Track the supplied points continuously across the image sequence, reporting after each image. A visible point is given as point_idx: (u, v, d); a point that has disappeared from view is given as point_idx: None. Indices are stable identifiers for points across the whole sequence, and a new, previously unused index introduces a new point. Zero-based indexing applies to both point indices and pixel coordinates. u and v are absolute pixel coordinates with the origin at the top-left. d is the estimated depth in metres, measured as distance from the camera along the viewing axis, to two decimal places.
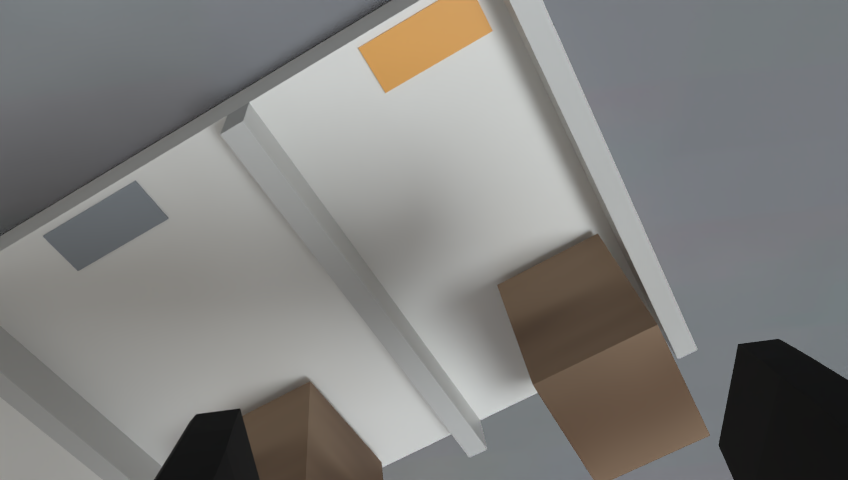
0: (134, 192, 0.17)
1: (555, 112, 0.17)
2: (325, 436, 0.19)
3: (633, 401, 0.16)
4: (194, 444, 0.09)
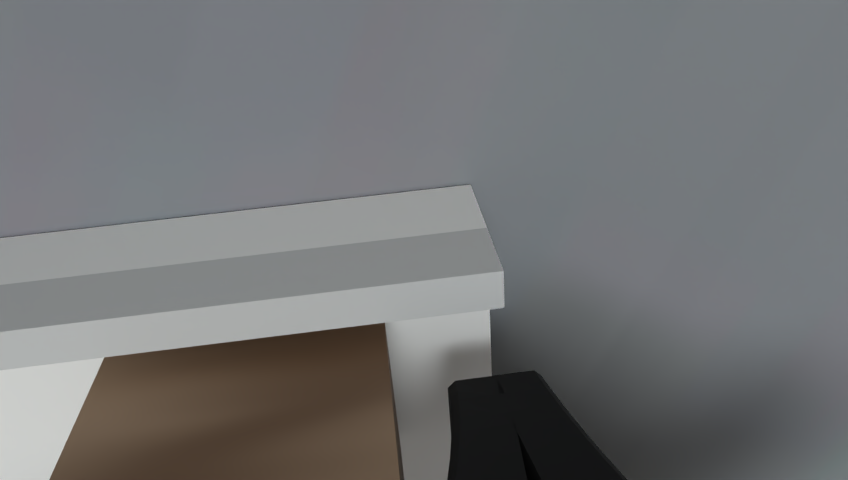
0: None
1: None
2: None
3: None
4: (476, 407, 0.09)
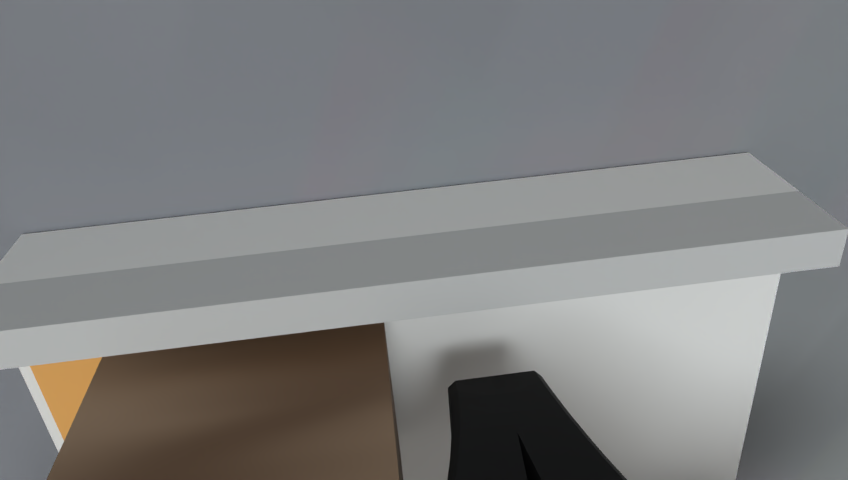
0: None
1: None
2: None
3: None
4: (476, 407, 0.09)
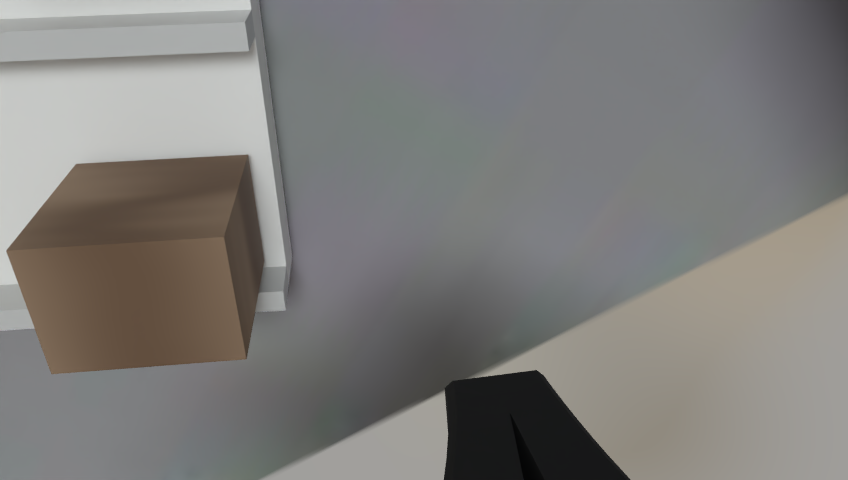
0: None
1: None
2: None
3: None
4: (473, 408, 0.09)
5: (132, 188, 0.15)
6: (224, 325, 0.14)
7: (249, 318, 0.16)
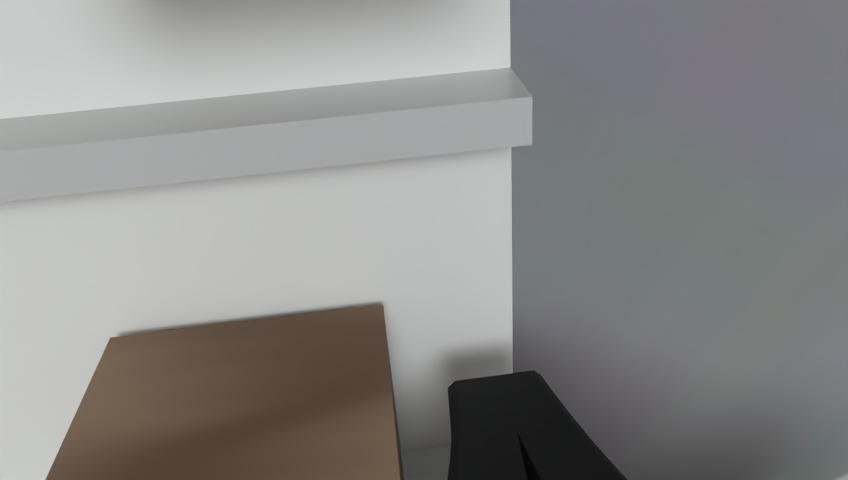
0: None
1: None
2: None
3: None
4: (476, 407, 0.09)
5: (210, 396, 0.09)
6: None
7: None
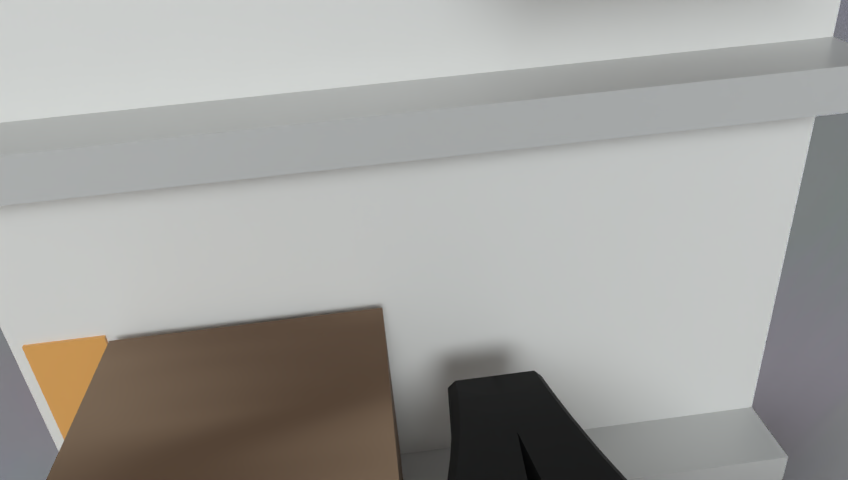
0: None
1: None
2: None
3: None
4: (476, 407, 0.09)
5: (209, 400, 0.09)
6: None
7: None
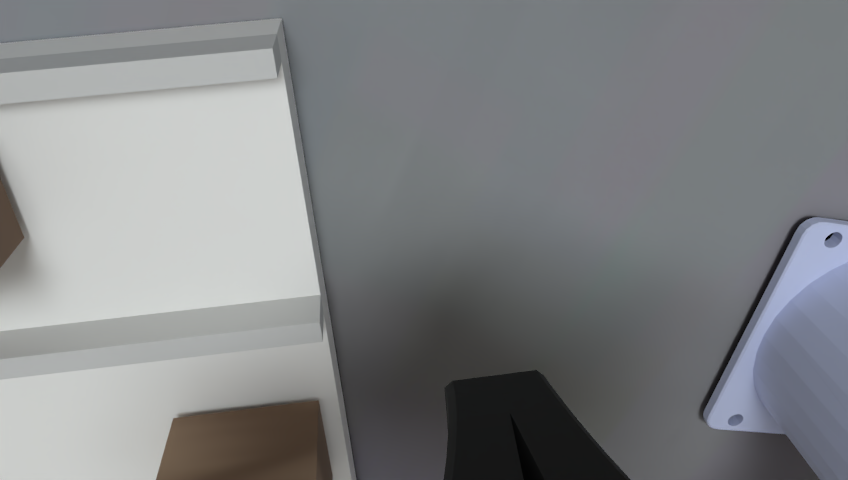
0: None
1: None
2: (194, 454, 0.18)
3: None
4: (473, 407, 0.09)
5: None
6: None
7: None
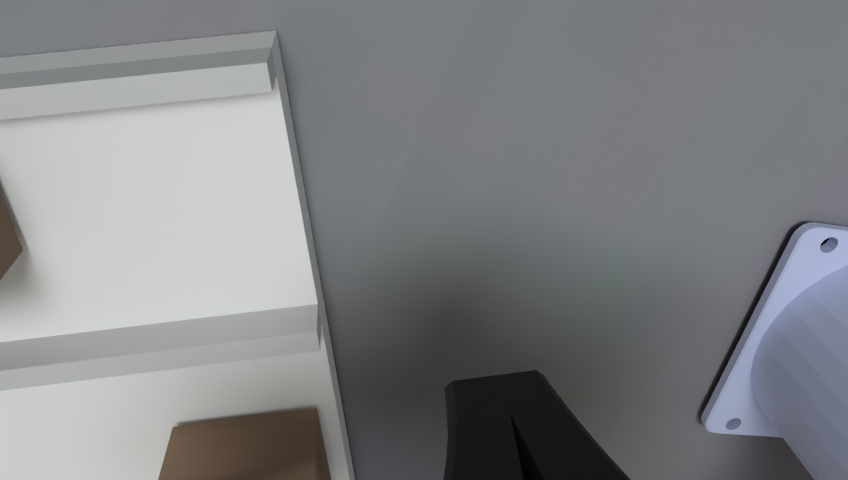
0: None
1: None
2: (193, 463, 0.18)
3: None
4: (473, 408, 0.09)
5: None
6: None
7: None
